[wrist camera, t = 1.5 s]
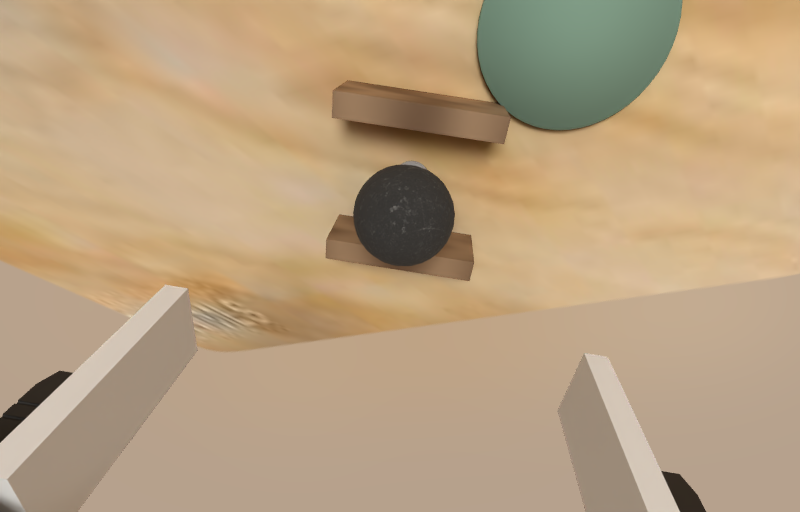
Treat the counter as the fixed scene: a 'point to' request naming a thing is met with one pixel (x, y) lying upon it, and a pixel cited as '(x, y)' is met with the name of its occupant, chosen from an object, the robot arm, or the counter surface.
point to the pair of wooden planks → (420, 116)
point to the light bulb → (404, 214)
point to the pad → (573, 55)
